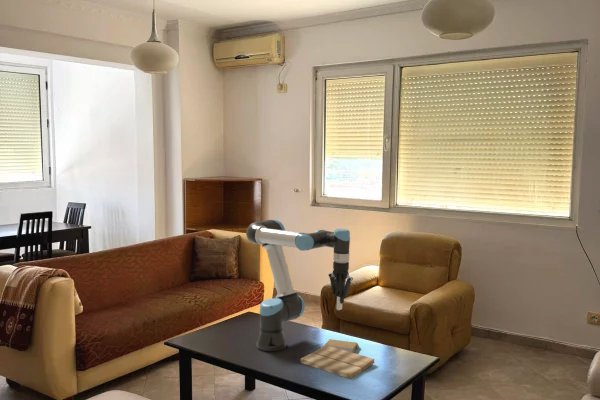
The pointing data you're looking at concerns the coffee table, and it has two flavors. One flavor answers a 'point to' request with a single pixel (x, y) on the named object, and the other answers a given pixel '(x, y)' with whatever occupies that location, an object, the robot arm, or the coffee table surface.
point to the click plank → (345, 357)
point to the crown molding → (343, 345)
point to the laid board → (331, 365)
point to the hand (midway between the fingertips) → (339, 309)
